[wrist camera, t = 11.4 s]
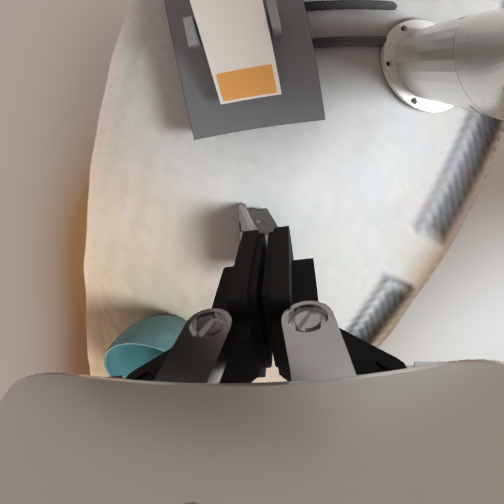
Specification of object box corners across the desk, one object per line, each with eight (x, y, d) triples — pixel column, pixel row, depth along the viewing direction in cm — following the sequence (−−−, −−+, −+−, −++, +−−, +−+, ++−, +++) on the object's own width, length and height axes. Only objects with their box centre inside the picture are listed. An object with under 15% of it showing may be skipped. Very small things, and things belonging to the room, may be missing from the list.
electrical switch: (238, 201, 42) (235, 233, 34) (277, 201, 42) (283, 233, 34) (240, 260, 47) (238, 301, 39) (275, 260, 47) (280, 300, 39)
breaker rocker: (247, -58, 16) (247, -60, 15) (281, 90, 28) (281, 94, 27) (179, -42, 17) (176, -43, 16) (222, 100, 29) (220, 104, 28)
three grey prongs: (387, -24, 24) (389, -26, 23) (402, 46, 29) (406, 45, 28) (291, -23, 26) (291, -26, 25) (307, 49, 31) (307, 48, 30)
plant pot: (113, 318, 56) (87, 364, 46) (169, 274, 49) (142, 327, 39) (179, 371, 63) (164, 418, 52) (242, 341, 55) (233, 397, 45)
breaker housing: (286, -44, 24) (286, -82, 15) (318, 114, 35) (332, 126, 25) (175, -21, 26) (139, -48, 17) (207, 131, 37) (180, 149, 28)
